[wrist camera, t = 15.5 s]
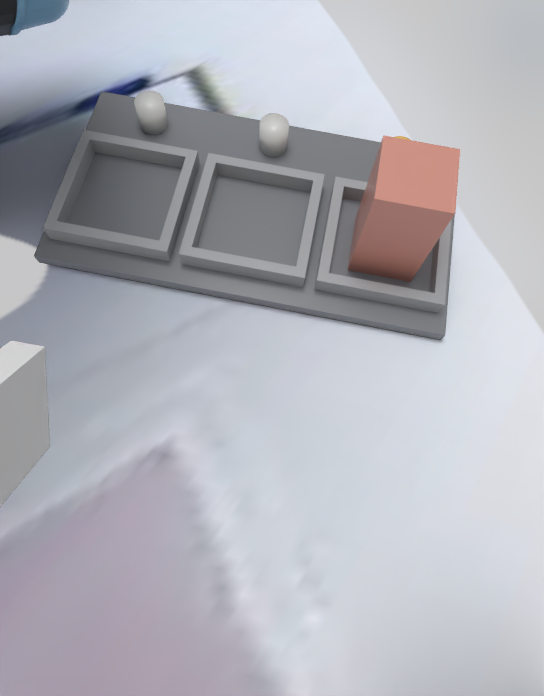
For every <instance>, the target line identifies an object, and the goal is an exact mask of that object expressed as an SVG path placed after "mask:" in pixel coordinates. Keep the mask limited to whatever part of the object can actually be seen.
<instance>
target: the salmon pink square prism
mask: <svg viewBox="0 0 544 696" xmlns="http://www.w3.org/2000/svg"><path fill="white" fill-rule="evenodd" d="M459 156H460V149H455V148H449V147H444V146H438V145H433V144H427V143H422V142H417V141H411V140H406V139H400V138H394V137H389V136H383V138H382V141H381V144H380V147H379V150H378V153H377V156H376V159H375V162H374V165H373V168H372V171H371V174H370V177H369V180H368V183H367V186H366V189H365V191H364V194H363V197H362V200H361V203H360V206H359V209H358V212H357V215H356V219H355V225H354V232H353V238H352V244H351V251H350V257H349V264H348V270H350V271H355V272H361V273H366V274H371V275H376V276H382V277H387V278H392V279H398V280H403V281H408V282H411V280H412V279H413V277H414V276H415V274H416V273H417V271H418V270H419V268H420V267H421V265H422V264H423V262H424V260H425V259H426V257H427V256H428V254H429V253H430V251H431V250H432V248H433V247H434V245H435V244H436V242H437V241H438V239H439V238H440V236H441V234H442V233H443V231H444V230H445V228H446V227H447V225H448V224H449V222H450V221H451V219H452V218H453V216H454V215H455V209H456V196H457V182H458V169H459Z"/></svg>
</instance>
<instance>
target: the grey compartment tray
mask: <svg viewBox="0 0 544 696" xmlns="http://www.w3.org/2000/svg"><path fill="white" fill-rule="evenodd" d="M394 138H400V139H406V140H410V139H408V138H406V137H402V136H397V137H394ZM380 144H381V142H375V141H370V140H364V139H359V138H353V137H348V136H342V135H337V134H331V133H326V132H320V131H315V130H310V129H304V128H299V127H293V126H289V123H288V120H287V119H286V118H285V117H284V116H282V115H280V114H276V113H271V114H267V115H265V116H264V117H263V118H262V119H261V121H260V120H255V119H249V118H244V117H238V116H233V115H228V114H222V113H217V112H211V111H206V110H200V109H195V108H189V107H184V106H178V105H173V104H167V103H164V100H163V97H162V96H161V95H160V94H159V93H157V92H155V91H144V92H142V93H140V94H138V95H137V96H136V98H135V97H129V96H124V95H118V94H113V93H107V92H102V91H101V94H100V96H99V99H98V101H97V104H96V106H95V108H94V111H93V113H92V116H91V118H90V121H89V123H88V126H87V128H86V130H83V132H82V134H81V136H80V139H79V141H78V144H77V146H76V149H75V151H74V153H73V156H72V158H71V161H70V163H69V166H68V168H67V170H66V173H65V175H64V178H63V180H62V182H61V185H60V187H59V190H58V192H57V195H56V197H55V199H54V202H53V204H52V207H51V209H50V211H49V214H48V216H47V219H46V221H45V224H44V226H43V229H44V233H43V235H42V237H41V240H40V242H39V245H38V247H37V250H36V252H35V254H34V256H35V258H36V259H37V260H38V261H39V262H40V263H45V264H51V265H56V266H61V267H66V268H71V269H77V270H82V271H87V272H92V273H97V274H102V275H108V276H113V277H118V278H123V279H128V280H133V281H139V282H144V283H149V284H154V285H159V286H165V287H170V288H175V289H180V290H185V291H190V292H196V293H201V294H206V295H211V296H216V297H222V298H227V299H232V300H237V301H242V302H247V303H253V304H258V305H263V306H268V307H273V308H278V309H284V310H289V311H294V312H299V313H304V314H310V315H315V316H320V317H325V318H330V319H335V320H341V321H346V322H351V323H356V324H361V325H367V326H372V327H377V328H382V329H387V330H392V331H398V332H403V333H408V334H413V335H418V336H424V337H429V338H434V339H439V340H441V339H442V338H443V337H444V336H445V330H446V317H447V304H448V291H449V278H450V265H451V252H452V239H453V226H454V216H453V218H452V219H451V221H450V222H449V224H448V225H447V227H446V228H445V230H444V231H443V233H442V234H441V236H440V238H439V239H438V241H437V242H436V244H435V245H434V247H433V248H432V250H431V251H430V253H429V254H428V256H427V257H426V259H425V260H424V262H423V264H422V265H421V267H420V268H419V270H418V271H417V273H416V274H415V276H414V277H413V279H412V280H411V282H408V281H403V280H398V279H392V278H387V277H382V276H376V275H371V274H366V273H361V272H355V271H350V270H348V264H349V257H350V251H351V244H352V238H353V232H354V225H355V219H356V215H357V212H358V209H359V206H360V203H361V200H362V197H363V194H364V191H365V189H366V186H367V183H368V180H369V177H370V174H371V171H372V168H373V165H374V162H375V159H376V156H377V153H378V150H379V147H380Z"/></svg>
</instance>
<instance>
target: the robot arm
mask: <svg viewBox="0 0 544 696" xmlns="http://www.w3.org/2000/svg"><path fill="white" fill-rule="evenodd" d="M68 5H69V0H0V36H3V35H9V36H10V35H17V34H18V33H19V32H20V31H21V30H24V29H28V28H32V27H35V26H39V25H43V24H47V23H51V22H54V21H56V20H58V19H59V18H60V17H61V16H62V15H63V14H64V13H65V12H66V10H67V7H68ZM49 447H50V438H49V418H48V397H47V377H46V357H45V347H44V346H39V345H33V344H28V343H22V342H17V341H12V340H11V341H10V342H8V343H7V344H6V345H4V346H3V347H1V348H0V507H1V506H2V504H3V503H4V502H5V501H6V500H7V498H8V497H9V496H10V495H11V493H12V492H13V491H14V490H15V489H16V487H17V486H18V485H19V484H20V482H21V481H22V480H23V479H24V478H25V476H26V475H27V474H28V473H29V471H30V470H31V469H32V468H33V467H34V465H35V464H36V463H37V462H38V460H39V459H40V458H41V457H42V456H43V454H44V453H45V452H46V451H47V450H48V448H49Z"/></svg>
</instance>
